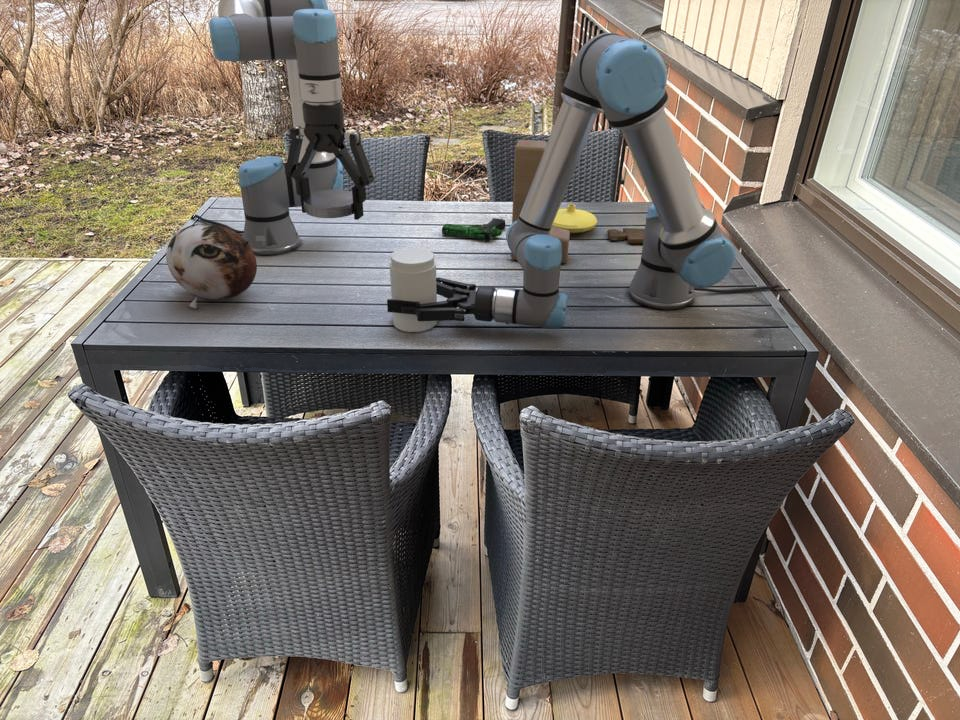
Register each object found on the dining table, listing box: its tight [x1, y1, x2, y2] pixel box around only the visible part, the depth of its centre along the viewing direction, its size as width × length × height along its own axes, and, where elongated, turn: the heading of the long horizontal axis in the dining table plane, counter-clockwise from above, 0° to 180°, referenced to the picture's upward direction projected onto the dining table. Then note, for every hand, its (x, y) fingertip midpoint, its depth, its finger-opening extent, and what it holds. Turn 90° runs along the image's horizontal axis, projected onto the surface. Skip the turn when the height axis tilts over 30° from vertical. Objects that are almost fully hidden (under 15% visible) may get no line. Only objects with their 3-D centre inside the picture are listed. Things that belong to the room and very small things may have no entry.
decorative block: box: [510, 139, 571, 264], centre depth 184 cm, size 8×15×30 cm, turn 82°
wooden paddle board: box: [606, 227, 645, 244], centre depth 205 cm, size 26×2×10 cm
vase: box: [552, 203, 598, 234], centre depth 209 cm, size 16×16×7 cm
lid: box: [304, 189, 354, 219], centre depth 144 cm, size 11×11×2 cm
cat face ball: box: [165, 222, 258, 309], centre depth 165 cm, size 22×18×20 cm
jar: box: [389, 246, 438, 333], centre depth 155 cm, size 10×10×16 cm
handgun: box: [441, 217, 506, 242], centre depth 207 cm, size 16×3×15 cm
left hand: (332, 214), depth 145 cm, fingers closed on lid, 11 cm apart
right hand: (395, 295), depth 157 cm, fingers closed on jar, 10 cm apart
